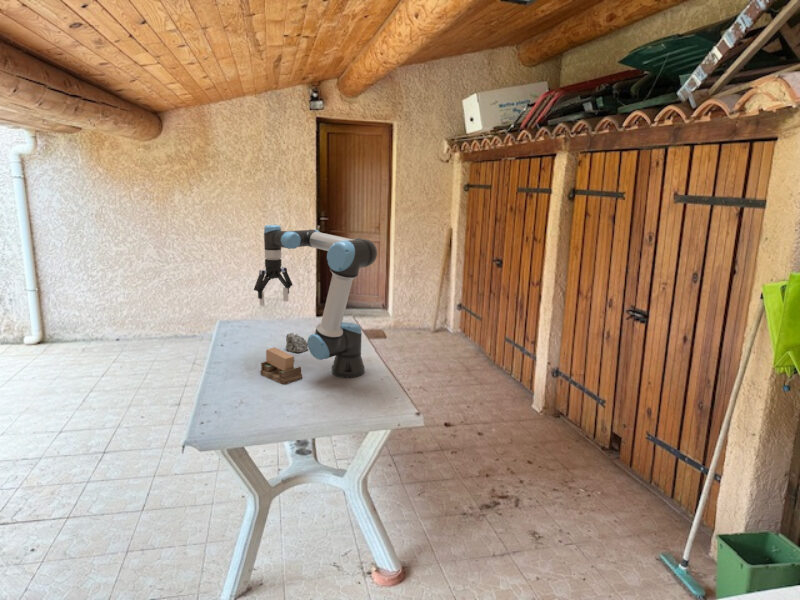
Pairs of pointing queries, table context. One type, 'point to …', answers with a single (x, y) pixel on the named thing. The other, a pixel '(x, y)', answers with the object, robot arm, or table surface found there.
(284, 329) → the table surface
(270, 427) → the table surface
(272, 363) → the tan rectangular block
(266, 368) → the stand
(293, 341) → the rock
